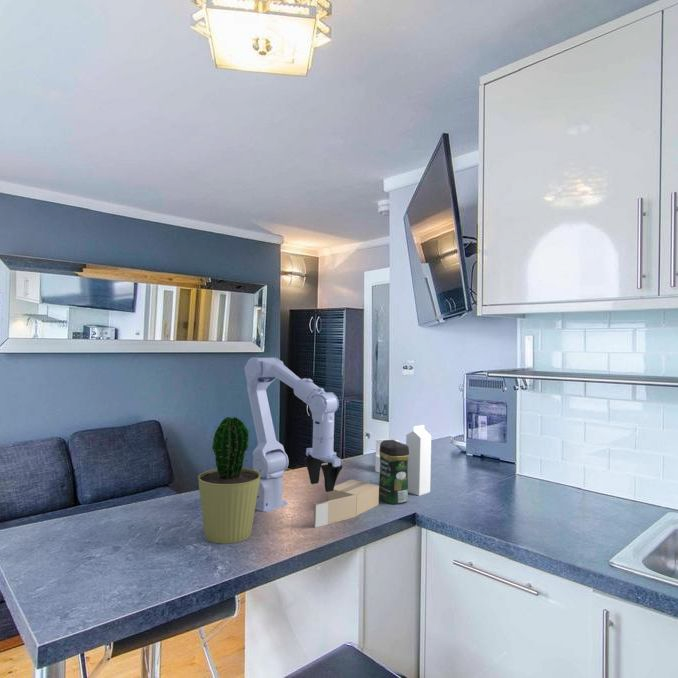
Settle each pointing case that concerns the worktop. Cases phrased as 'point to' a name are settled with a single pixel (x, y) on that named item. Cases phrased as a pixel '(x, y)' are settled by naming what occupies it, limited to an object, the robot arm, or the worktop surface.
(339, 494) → the carton
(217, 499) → the potted cactus
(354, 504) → the beige rectangular panel
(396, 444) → the coffee jar
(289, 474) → the worktop surface
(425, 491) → the milk
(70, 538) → the worktop surface
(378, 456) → the cylinder with rectangular tab
